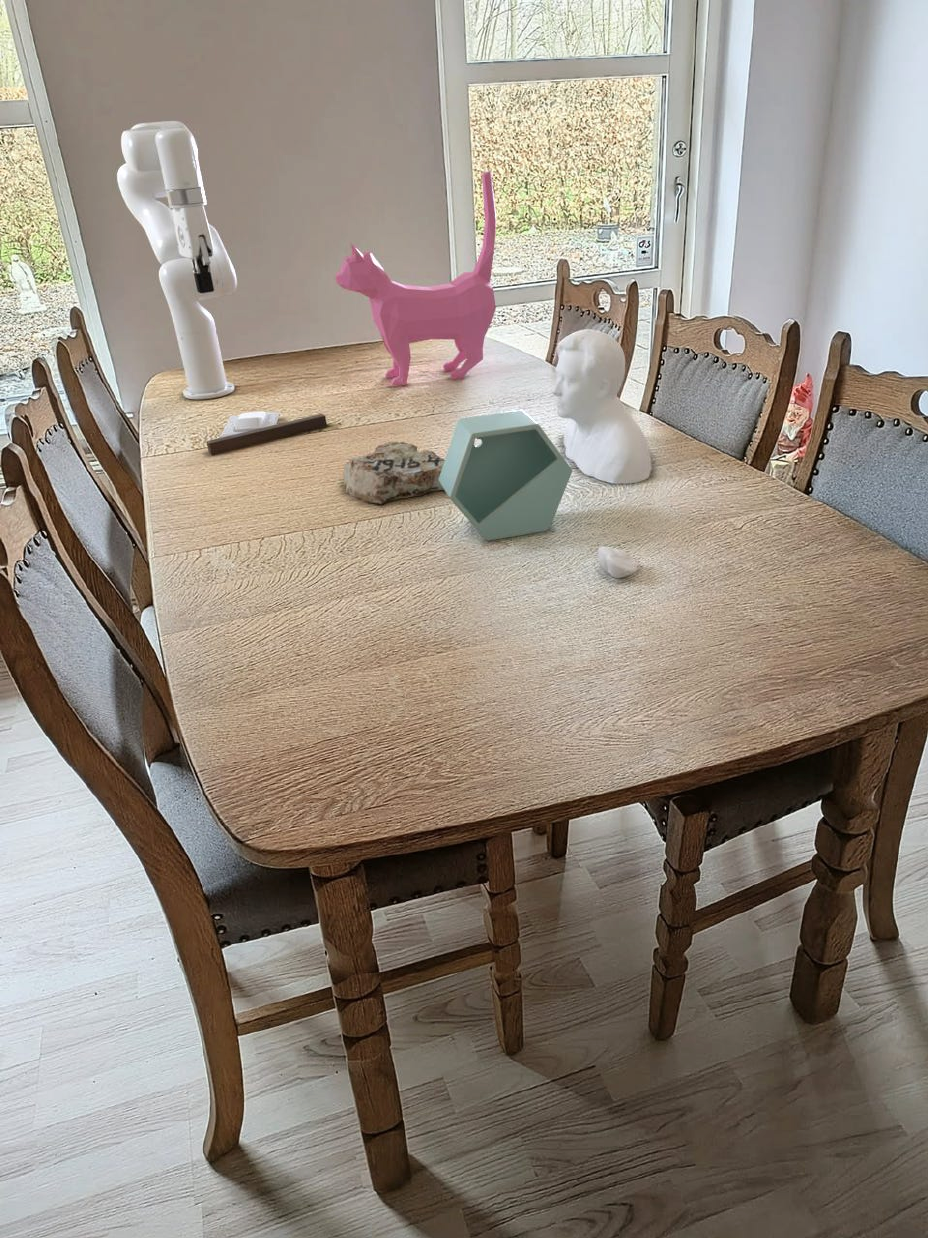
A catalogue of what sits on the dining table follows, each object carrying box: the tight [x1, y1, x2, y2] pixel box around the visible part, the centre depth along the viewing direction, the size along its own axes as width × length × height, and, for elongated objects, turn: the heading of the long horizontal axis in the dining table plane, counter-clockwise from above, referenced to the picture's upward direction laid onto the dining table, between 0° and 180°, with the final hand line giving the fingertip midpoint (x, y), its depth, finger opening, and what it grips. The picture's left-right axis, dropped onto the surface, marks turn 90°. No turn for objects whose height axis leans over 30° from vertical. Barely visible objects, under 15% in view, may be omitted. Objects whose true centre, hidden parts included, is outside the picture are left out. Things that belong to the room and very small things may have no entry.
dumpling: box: [597, 545, 638, 579], centre depth 121 cm, size 7×5×4 cm
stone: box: [343, 441, 445, 505], centre depth 157 cm, size 19×6×25 cm
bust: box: [551, 328, 653, 485], centre depth 155 cm, size 28×19×24 cm
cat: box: [334, 170, 497, 387], centre depth 205 cm, size 13×39×45 cm, turn 104°
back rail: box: [205, 413, 328, 456], centre depth 182 cm, size 2×26×2 cm, turn 123°
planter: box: [438, 409, 573, 542], centre depth 133 cm, size 17×8×21 cm
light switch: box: [220, 410, 280, 438], centre depth 188 cm, size 11×4×13 cm
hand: (206, 291), depth 187 cm, fingers closed
